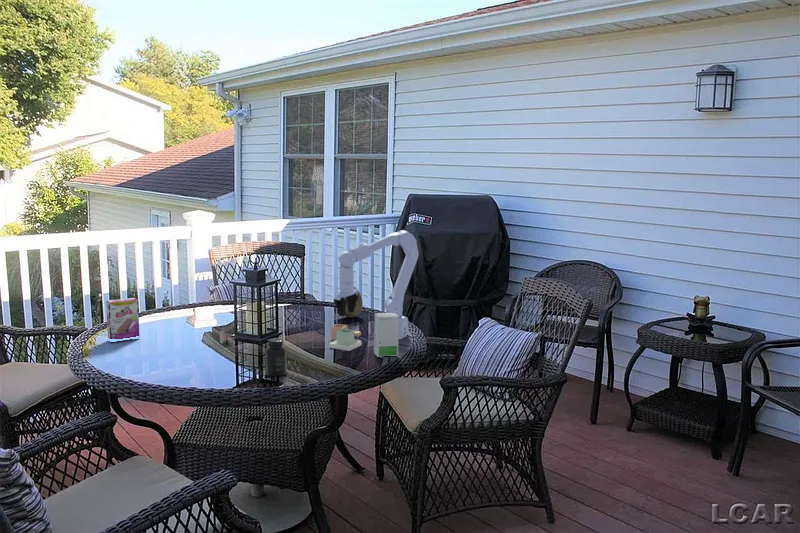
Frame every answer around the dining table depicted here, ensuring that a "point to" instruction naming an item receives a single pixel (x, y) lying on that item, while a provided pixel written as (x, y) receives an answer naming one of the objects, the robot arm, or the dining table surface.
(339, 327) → the pot terracotta
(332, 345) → the tray
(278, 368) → the supplement bottle
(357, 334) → the cedar offcut
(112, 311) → the candy bar box
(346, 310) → the decorative egg
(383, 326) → the skincare box
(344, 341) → the pot green
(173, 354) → the dining table surface
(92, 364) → the dining table surface
